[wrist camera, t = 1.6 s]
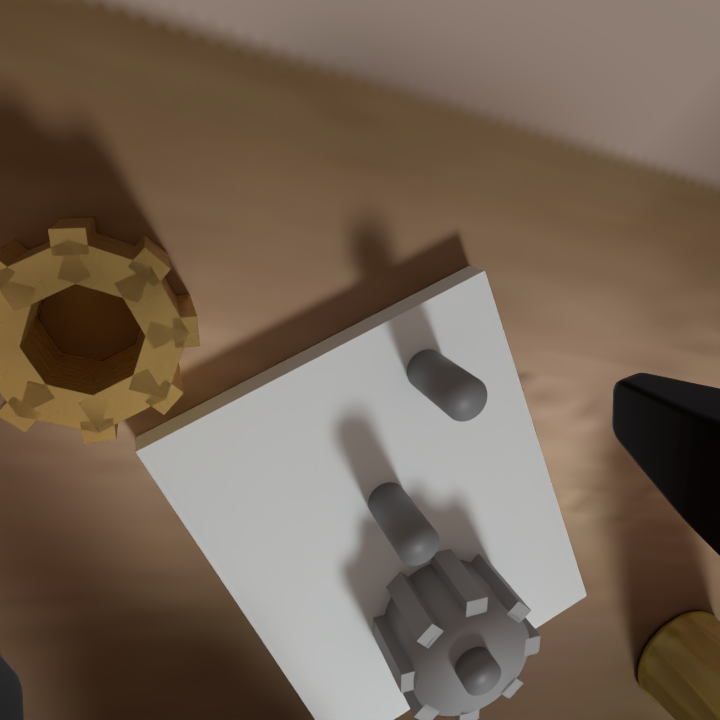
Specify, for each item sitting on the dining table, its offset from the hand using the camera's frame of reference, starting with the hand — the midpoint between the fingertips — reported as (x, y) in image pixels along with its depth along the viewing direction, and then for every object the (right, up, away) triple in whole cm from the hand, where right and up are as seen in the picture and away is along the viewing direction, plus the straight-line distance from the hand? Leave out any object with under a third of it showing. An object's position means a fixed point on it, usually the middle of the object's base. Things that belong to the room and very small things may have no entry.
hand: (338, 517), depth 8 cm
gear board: (+2, -5, +18) cm, 19 cm away
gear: (-8, +4, +11) cm, 15 cm away
